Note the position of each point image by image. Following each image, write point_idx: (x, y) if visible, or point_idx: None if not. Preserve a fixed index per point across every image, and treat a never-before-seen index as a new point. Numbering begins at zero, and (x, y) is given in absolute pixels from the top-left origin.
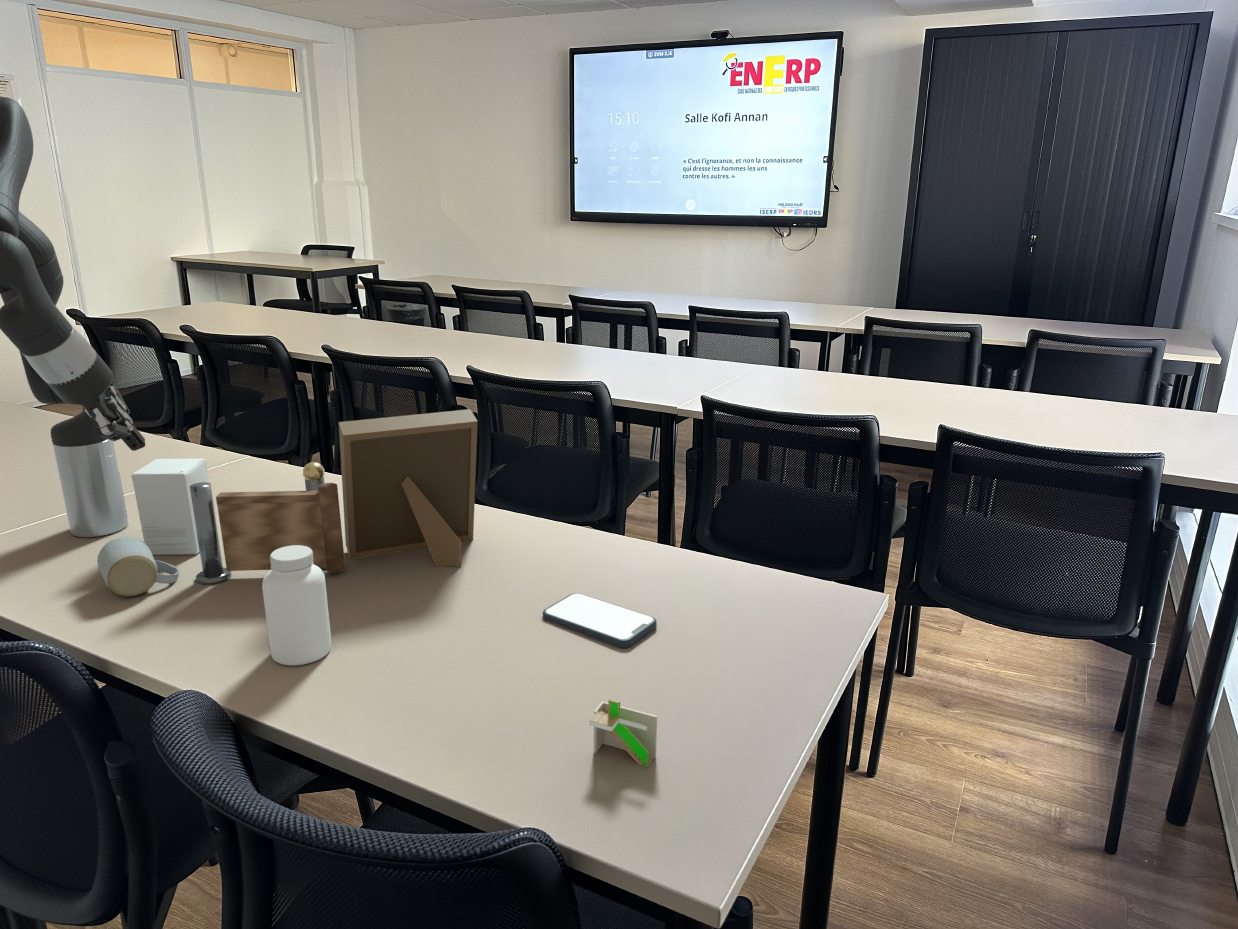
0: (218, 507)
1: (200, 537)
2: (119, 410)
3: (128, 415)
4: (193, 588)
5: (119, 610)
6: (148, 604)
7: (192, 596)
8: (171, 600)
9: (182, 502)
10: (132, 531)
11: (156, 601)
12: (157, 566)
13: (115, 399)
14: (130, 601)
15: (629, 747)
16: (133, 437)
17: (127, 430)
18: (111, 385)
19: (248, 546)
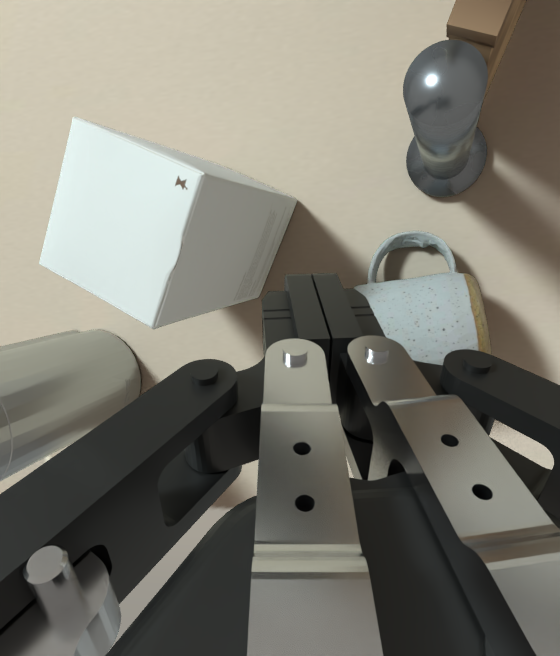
0: (491, 50)
1: (464, 152)
2: (498, 481)
3: (267, 369)
4: (486, 202)
5: (529, 348)
6: (528, 293)
7: (534, 203)
8: (532, 247)
9: (241, 202)
10: (133, 322)
11: (520, 277)
12: (374, 275)
13: (353, 545)
14: (490, 327)
15: None
16: (380, 331)
17: (497, 377)
18: (13, 589)
19: (511, 25)
